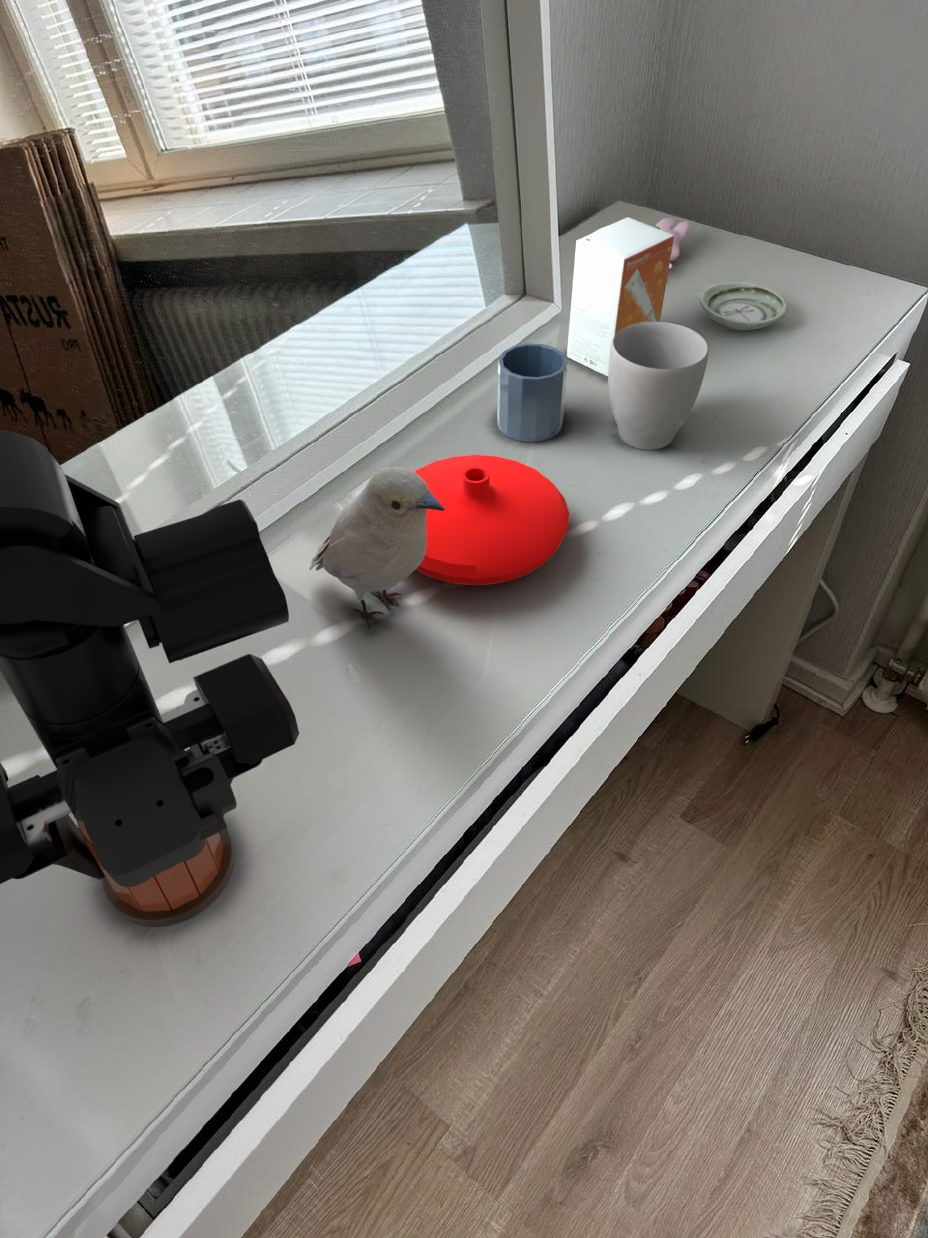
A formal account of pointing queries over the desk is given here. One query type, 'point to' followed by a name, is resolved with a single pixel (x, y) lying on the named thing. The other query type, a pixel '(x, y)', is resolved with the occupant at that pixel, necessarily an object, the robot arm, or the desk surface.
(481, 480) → the red disc with nozzle
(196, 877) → the orange ribbed cylinder
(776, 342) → the desk surface
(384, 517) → the bird
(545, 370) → the slate cup
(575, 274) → the small box
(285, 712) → the robot arm
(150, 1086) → the desk surface
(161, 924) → the holder
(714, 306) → the saucer
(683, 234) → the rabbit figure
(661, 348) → the mug
